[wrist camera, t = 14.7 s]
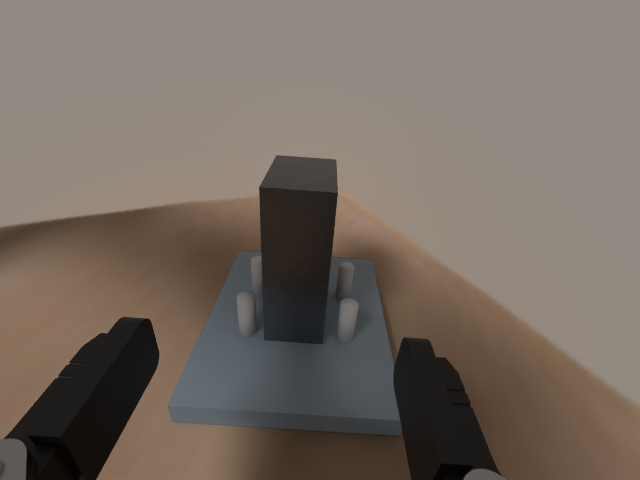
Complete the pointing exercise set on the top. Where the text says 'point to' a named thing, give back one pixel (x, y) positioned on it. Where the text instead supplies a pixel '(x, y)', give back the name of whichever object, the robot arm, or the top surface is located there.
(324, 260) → the block
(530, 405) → the top surface
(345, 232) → the top surface
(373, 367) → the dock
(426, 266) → the top surface
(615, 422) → the top surface
